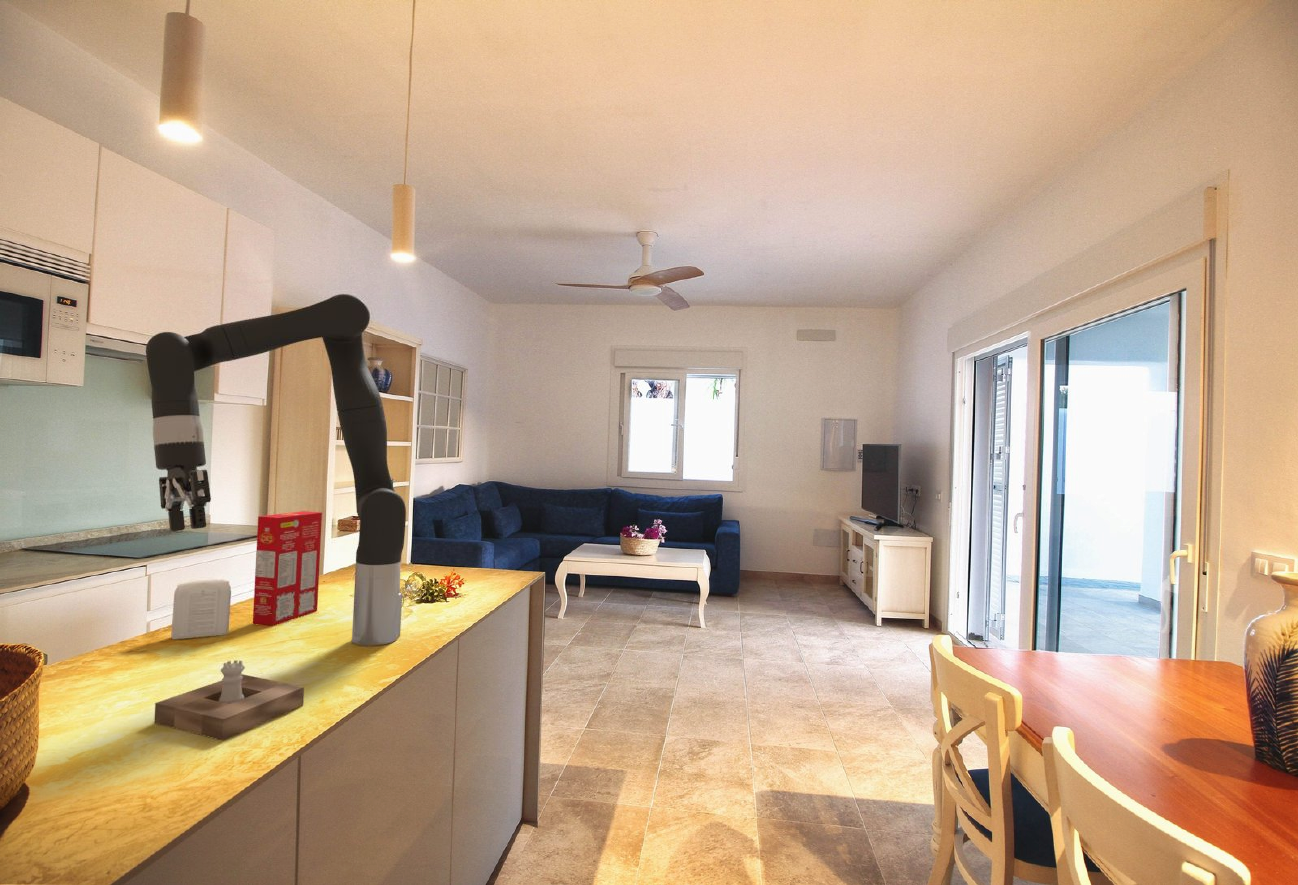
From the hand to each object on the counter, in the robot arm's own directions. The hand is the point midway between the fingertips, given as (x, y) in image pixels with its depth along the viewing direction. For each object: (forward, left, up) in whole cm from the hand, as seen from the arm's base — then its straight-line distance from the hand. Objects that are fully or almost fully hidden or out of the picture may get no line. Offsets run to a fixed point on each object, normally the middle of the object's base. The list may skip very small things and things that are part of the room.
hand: (188, 529), depth 119 cm
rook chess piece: (+10, +25, -26) cm, 37 cm away
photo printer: (-16, -17, -26) cm, 35 cm away
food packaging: (-35, -14, -26) cm, 46 cm away
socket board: (+10, +25, -26) cm, 37 cm away
